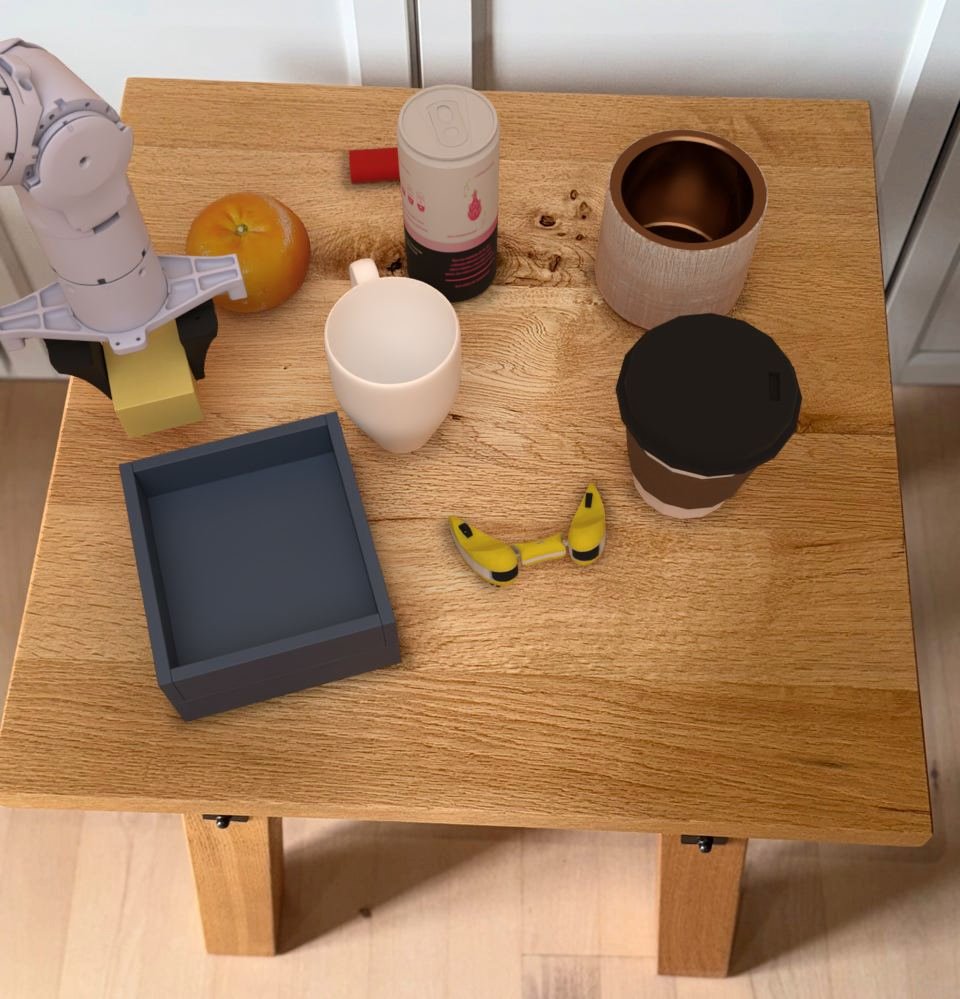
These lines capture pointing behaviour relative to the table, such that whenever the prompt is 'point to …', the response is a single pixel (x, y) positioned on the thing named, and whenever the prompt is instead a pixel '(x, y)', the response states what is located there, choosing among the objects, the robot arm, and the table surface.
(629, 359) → the coffee cup
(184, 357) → the notepads
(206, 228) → the fruit
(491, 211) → the beverage can
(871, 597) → the table surface
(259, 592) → the bin
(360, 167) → the lighter
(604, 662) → the table surface
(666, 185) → the planter
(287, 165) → the table surface
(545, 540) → the game controller
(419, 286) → the mug
